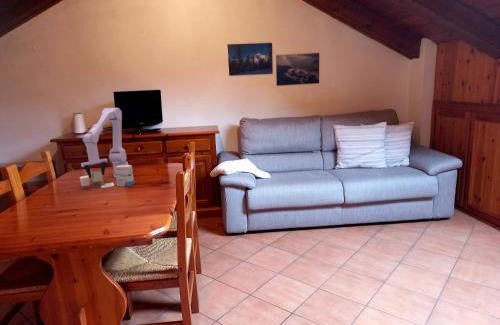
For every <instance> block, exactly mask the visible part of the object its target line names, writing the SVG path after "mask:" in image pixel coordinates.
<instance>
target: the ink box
mask: <svg viewBox="0 0 500 325" xmlns="http://www.w3.org/2000/svg"><path fill="white" fill-rule="evenodd" d="M115 172H116V178H115V179H116V185H117V187H133V185H135V179H134V173H133V172H134V171H133V165H131V164H128V165H118V166H116V167H115Z"/></svg>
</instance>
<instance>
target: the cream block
mask: <svg viewBox="0 0 500 325" xmlns="http://www.w3.org/2000/svg"><path fill="white" fill-rule="evenodd" d="M79 180H80V186H81V187H86V186H90V184H91V182H90V178H89V176H88V175H82V176H80V177H79Z"/></svg>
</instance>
